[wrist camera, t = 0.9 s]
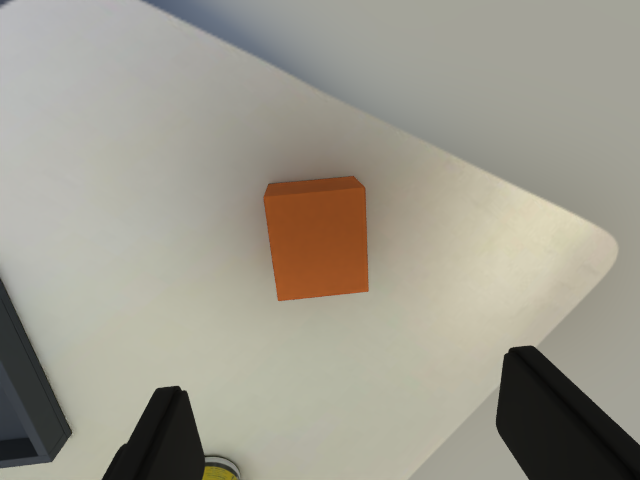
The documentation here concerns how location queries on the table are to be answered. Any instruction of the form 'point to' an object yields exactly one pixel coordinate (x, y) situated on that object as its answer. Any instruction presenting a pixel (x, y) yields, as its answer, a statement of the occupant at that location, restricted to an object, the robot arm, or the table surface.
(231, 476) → the supplement bottle
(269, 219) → the orange block
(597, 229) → the table surface
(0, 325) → the tray
